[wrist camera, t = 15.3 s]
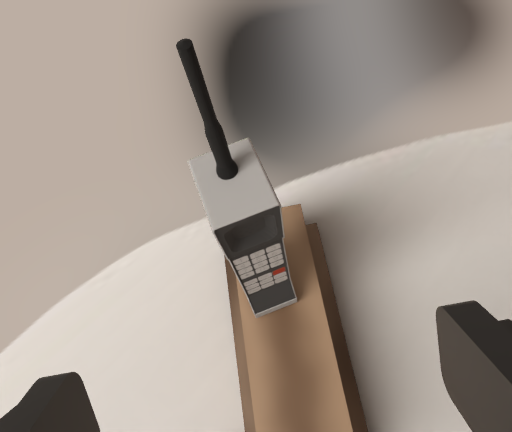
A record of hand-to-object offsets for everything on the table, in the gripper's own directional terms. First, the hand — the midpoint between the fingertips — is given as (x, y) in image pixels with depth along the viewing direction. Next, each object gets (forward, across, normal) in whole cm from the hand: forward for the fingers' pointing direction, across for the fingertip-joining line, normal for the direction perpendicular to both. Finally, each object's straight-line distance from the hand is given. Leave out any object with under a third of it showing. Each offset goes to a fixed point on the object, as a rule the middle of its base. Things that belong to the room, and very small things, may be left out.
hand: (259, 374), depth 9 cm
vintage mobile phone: (+26, +1, +10) cm, 28 cm away
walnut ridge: (+28, 0, +16) cm, 32 cm away
